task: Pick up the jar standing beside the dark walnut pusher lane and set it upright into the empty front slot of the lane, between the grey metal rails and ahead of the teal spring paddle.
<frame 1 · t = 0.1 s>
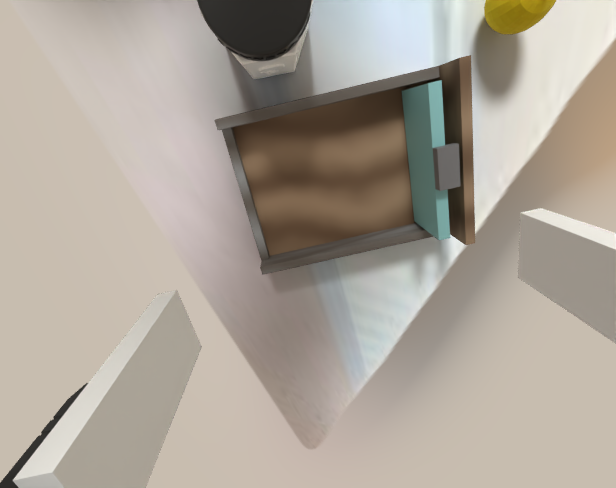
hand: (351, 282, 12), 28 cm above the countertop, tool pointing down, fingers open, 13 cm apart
fruit: (493, 13, 33), on the countertop
jar: (266, 34, 33), on the countertop
pusher: (431, 163, 33), point 5 cm above the countertop, slide at 0.0 cm
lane: (340, 174, 38), on the countertop
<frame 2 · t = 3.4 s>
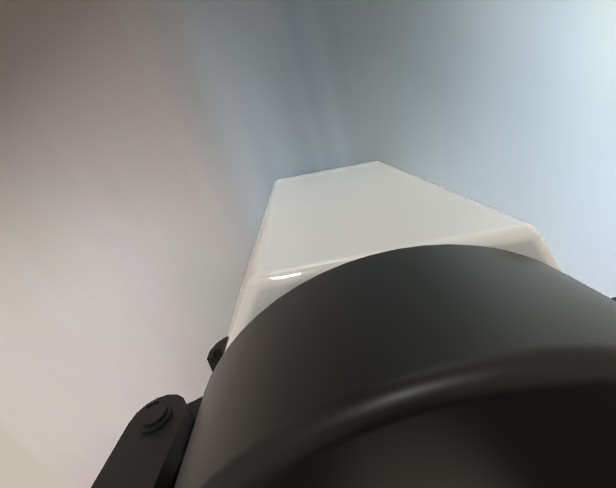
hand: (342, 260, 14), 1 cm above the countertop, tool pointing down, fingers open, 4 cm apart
jar: (338, 249, 15), on the countertop
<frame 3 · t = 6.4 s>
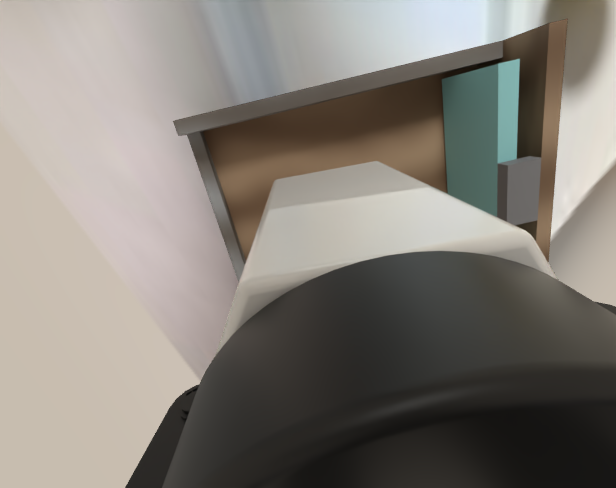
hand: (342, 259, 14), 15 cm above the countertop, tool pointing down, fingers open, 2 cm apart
jar: (337, 249, 15), point 14 cm above the countertop, touching hand
pusher: (485, 182, 23), point 5 cm above the countertop, slide at 0.0 cm
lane: (353, 194, 28), on the countertop
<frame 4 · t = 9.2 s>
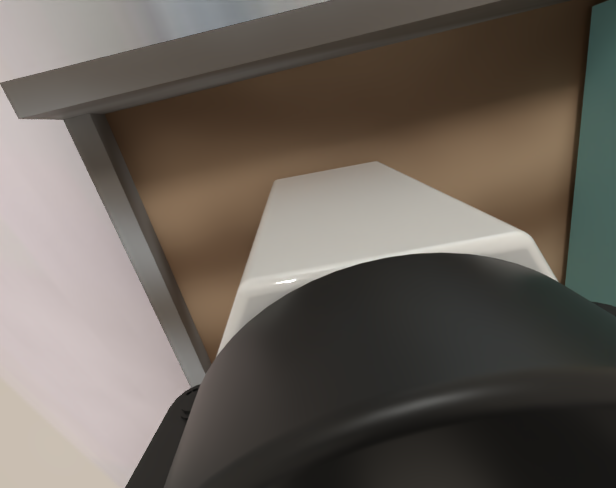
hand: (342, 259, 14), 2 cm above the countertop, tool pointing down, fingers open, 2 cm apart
jar: (337, 249, 15), point 1 cm above the countertop, touching hand, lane
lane: (393, 230, 16), on the countertop
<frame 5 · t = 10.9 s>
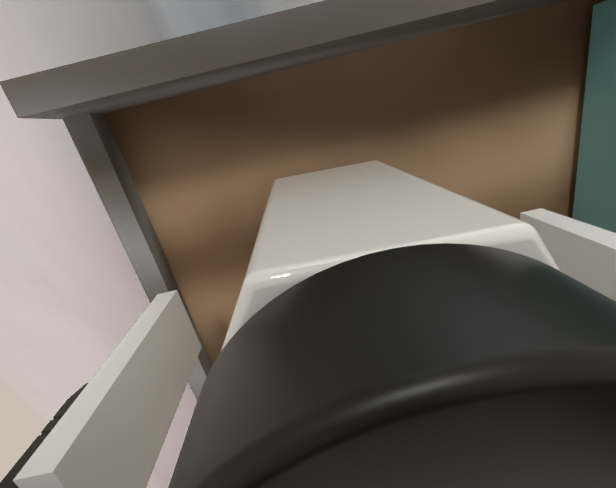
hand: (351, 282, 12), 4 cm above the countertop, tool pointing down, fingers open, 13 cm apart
jar: (337, 249, 15), point 1 cm above the countertop, touching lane
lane: (394, 230, 16), on the countertop
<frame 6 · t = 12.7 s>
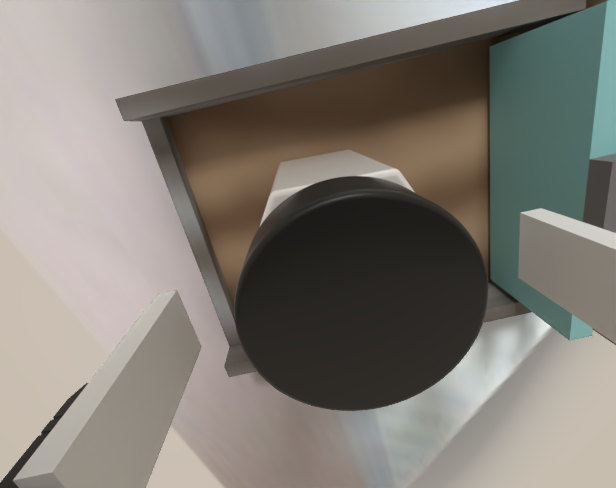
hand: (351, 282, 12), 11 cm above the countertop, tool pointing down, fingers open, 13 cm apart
jar: (324, 213, 21), point 1 cm above the countertop, touching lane
pusher: (553, 186, 17), point 5 cm above the countertop, slide at 0.0 cm
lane: (365, 201, 22), on the countertop
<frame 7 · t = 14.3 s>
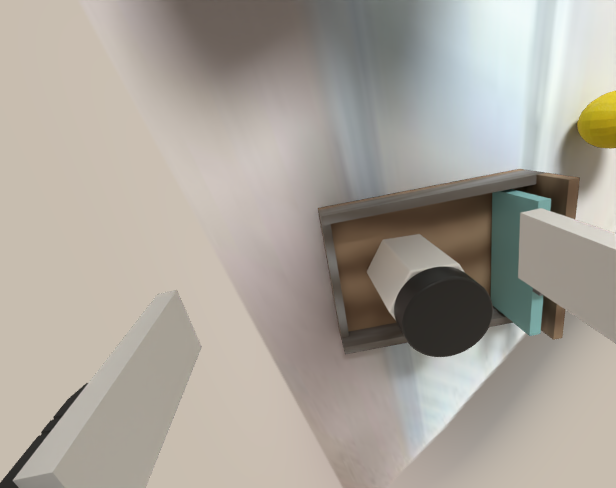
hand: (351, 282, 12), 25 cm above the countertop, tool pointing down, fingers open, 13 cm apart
fruit: (580, 121, 35), on the countertop
jar: (401, 265, 39), point 1 cm above the countertop, touching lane
pusher: (522, 260, 34), point 5 cm above the countertop, slide at 0.0 cm
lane: (422, 258, 39), on the countertop
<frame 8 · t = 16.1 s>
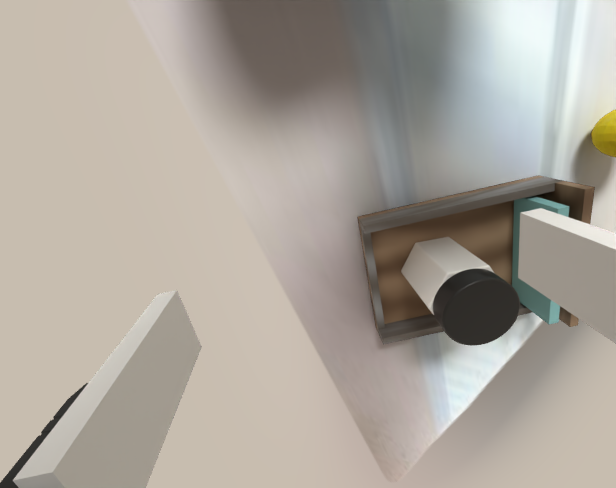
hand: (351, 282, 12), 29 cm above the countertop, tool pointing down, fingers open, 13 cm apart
fruit: (594, 131, 39), on the countertop
jar: (431, 264, 43), point 1 cm above the countertop, touching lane
pusher: (542, 258, 39), point 5 cm above the countertop, slide at 0.0 cm
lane: (450, 257, 44), on the countertop
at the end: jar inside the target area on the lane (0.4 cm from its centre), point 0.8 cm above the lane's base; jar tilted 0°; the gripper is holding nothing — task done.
